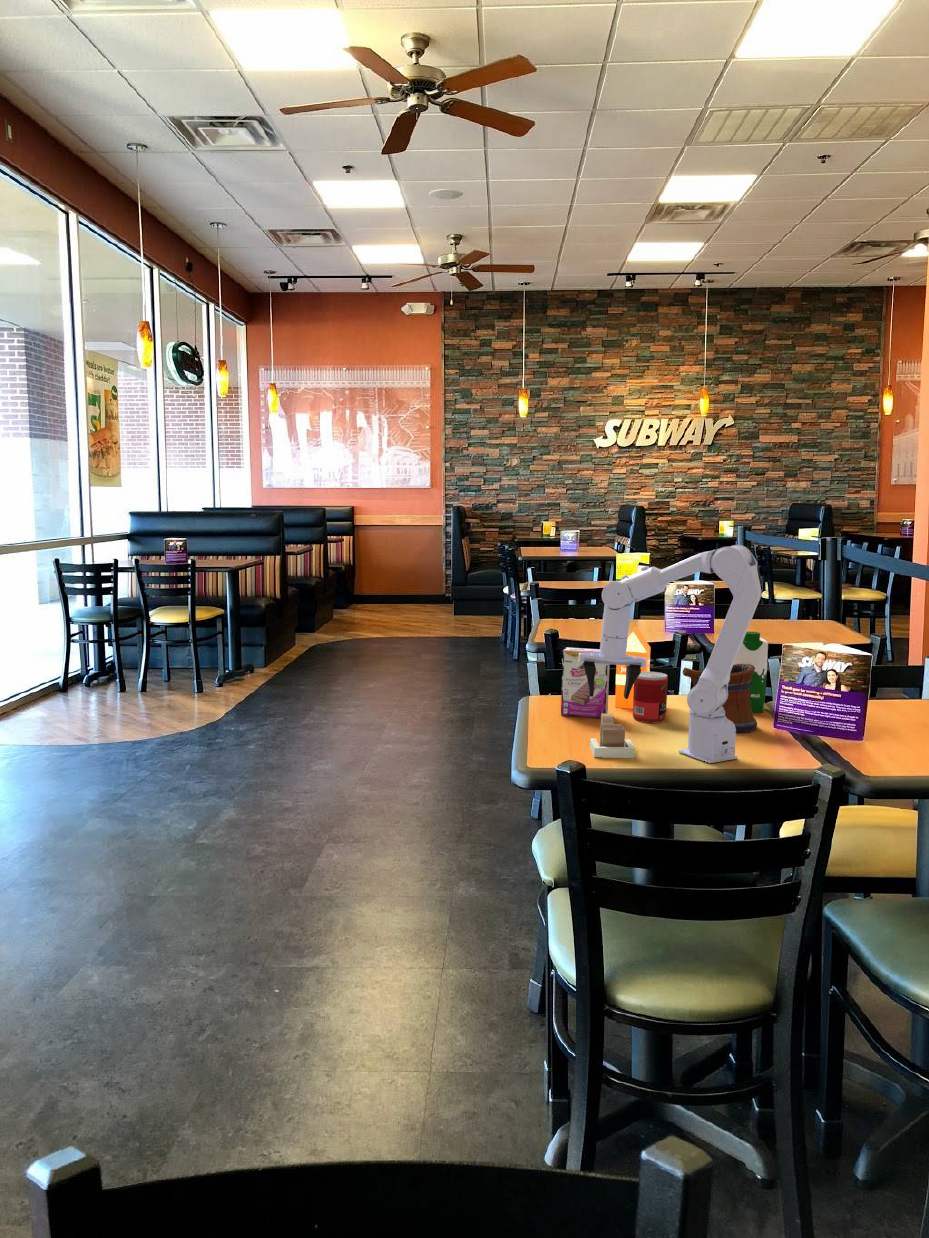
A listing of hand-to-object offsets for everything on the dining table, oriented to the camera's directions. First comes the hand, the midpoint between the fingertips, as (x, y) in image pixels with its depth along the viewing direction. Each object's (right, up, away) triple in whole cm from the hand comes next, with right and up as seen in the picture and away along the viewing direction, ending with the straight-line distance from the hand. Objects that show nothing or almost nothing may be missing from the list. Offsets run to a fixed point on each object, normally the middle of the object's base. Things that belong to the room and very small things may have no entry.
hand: (608, 696), depth 204 cm
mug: (+28, -9, +14) cm, 32 cm away
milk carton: (+40, -6, +33) cm, 52 cm away
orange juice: (+12, -5, +37) cm, 39 cm away
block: (0, -11, -4) cm, 11 cm away
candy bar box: (-2, -7, +25) cm, 26 cm away
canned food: (+13, -7, +22) cm, 27 cm away
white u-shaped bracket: (0, -11, -8) cm, 13 cm away
